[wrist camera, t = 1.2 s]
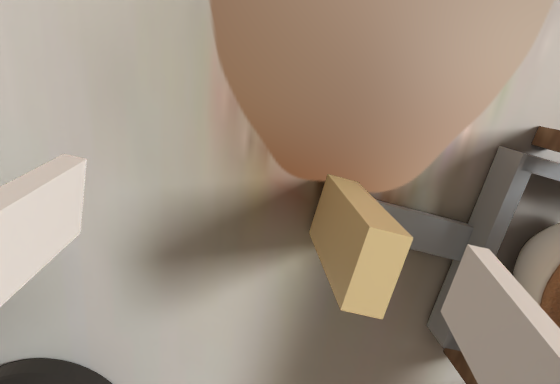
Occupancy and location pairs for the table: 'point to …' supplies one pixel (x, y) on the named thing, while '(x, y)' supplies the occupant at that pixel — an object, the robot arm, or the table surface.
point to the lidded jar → (542, 270)
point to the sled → (411, 235)
